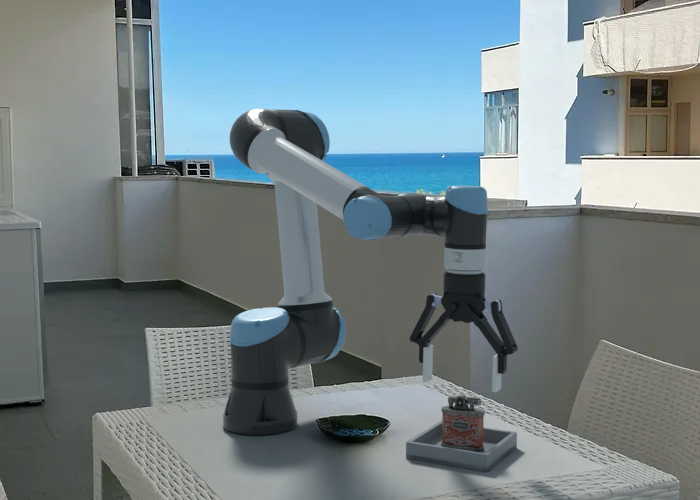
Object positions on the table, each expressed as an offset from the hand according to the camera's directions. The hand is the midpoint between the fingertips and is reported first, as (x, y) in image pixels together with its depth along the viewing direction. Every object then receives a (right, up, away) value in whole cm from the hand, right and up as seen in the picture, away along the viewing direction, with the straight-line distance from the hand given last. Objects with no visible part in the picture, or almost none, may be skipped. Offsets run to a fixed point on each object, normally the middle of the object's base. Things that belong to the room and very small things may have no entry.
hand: (461, 385), depth 171 cm
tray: (0, -13, +1) cm, 13 cm away
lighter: (0, -12, +1) cm, 12 cm away
